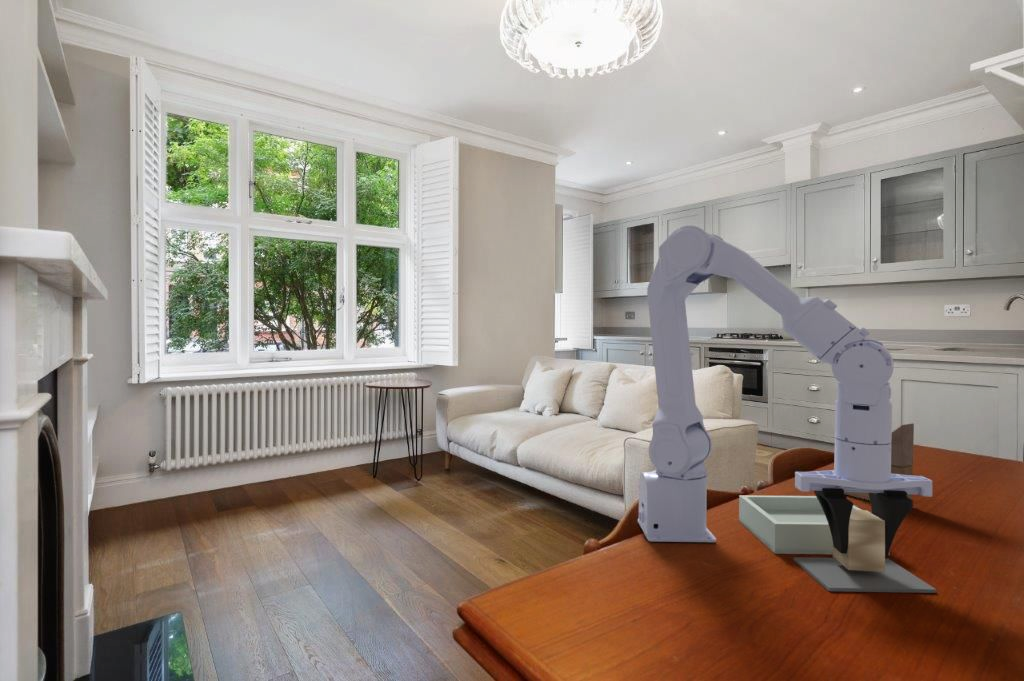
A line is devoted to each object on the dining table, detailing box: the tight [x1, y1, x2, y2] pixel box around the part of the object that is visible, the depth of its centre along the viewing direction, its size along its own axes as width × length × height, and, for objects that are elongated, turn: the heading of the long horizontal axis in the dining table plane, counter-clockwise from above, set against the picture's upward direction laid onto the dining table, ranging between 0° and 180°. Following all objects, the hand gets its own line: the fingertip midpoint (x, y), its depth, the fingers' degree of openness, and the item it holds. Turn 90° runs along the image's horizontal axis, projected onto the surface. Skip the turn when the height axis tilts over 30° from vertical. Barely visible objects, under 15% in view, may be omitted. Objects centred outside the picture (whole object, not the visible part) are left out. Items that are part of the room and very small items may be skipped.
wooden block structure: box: [844, 422, 915, 502], centre depth 92 cm, size 4×11×18 cm, turn 27°
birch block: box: [832, 509, 886, 572], centre depth 65 cm, size 4×4×6 cm
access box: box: [738, 494, 891, 556], centre depth 76 cm, size 15×12×4 cm
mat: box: [793, 556, 937, 594], centre depth 64 cm, size 12×8×1 cm, turn 88°
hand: (860, 551), depth 64 cm, fingers closed on birch block, 4 cm apart
